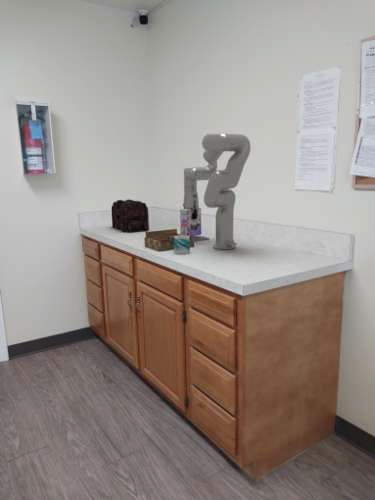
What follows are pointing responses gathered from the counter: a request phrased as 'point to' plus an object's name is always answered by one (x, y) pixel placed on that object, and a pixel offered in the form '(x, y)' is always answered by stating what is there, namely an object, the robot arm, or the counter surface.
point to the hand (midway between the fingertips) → (190, 218)
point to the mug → (181, 244)
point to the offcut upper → (172, 239)
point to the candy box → (190, 222)
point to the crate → (130, 216)
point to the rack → (162, 239)
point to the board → (200, 238)
